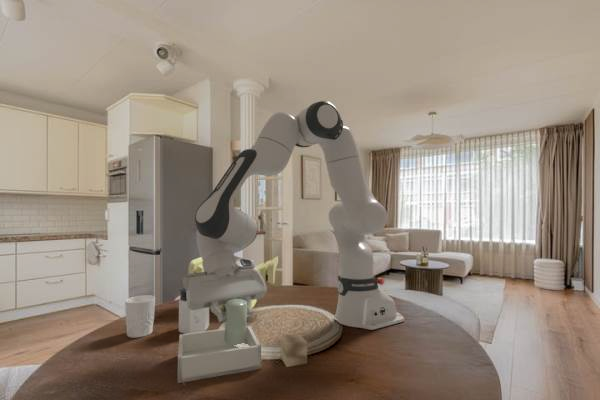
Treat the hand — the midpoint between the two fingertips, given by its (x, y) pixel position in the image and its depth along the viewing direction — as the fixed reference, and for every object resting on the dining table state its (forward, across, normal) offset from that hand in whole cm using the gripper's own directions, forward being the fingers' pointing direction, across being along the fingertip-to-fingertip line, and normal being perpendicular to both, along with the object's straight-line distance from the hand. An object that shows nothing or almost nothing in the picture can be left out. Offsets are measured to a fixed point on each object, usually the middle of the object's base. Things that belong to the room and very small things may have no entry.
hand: (235, 317), depth 75 cm
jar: (-11, -2, +25) cm, 28 cm away
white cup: (-15, -16, +30) cm, 37 cm away
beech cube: (+13, +11, +1) cm, 17 cm away
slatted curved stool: (-20, +17, +35) cm, 44 cm away
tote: (+6, -4, +8) cm, 11 cm away
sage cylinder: (+3, 0, +4) cm, 5 cm away
